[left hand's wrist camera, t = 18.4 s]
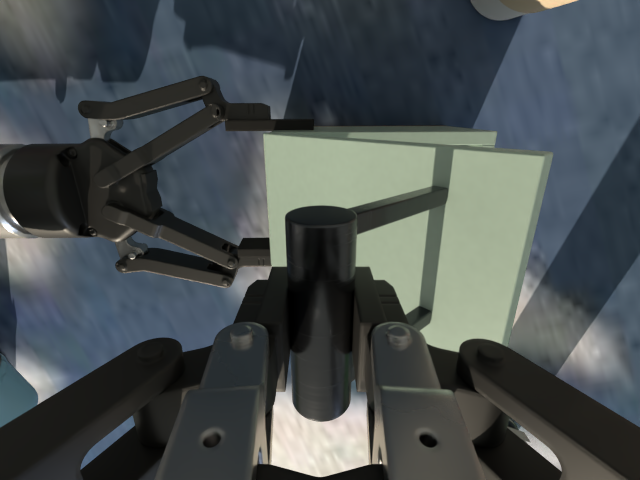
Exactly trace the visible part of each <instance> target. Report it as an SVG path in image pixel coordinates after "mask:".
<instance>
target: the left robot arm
mask: <svg viewBox="0 0 640 480" xmlns="http://www.w3.org/2000/svg"><path fill="white" fill-rule="evenodd" d="M289 357H290V324H289V298H288V283H287V266H272V269H271V272H270V275H269V278H268V280H256V281H255V282H254V283H253V284H251V285H250V286H249V287H248V289H247V292H246V294H245V297H244V299H243V301H242V304H241V306H240V309H239V311H238V313H237V316H236V318H235V321H234V323H233V324H232V325H229V326H227V327H225V328H224V329H222V330H221V331H220V332H219V333H218V334H217V335H216V337H215V340H214V343H213V345H211V346H208V347H205V348H201V349H196V350H192V351H187V352H183V351H182V346H181V344H180V343H179V342H178V341H177V340H175V339H172V338H155V339H151V340H147V341H144V342H142V343H139V344H137V345H135V346H134V347H132V348H130V349H129V350H127V351H125V352H124V353H122V354H120V355H119V356H117V357H116V358H114V359H112V360H111V361H109V362H107V363H106V364H104V365H102V366H101V367H99V368H97V369H96V370H94V371H92V372H91V373H89V374H88V375H86V376H84V377H83V378H81V379H79V380H78V381H76V382H74V383H73V384H71V385H69V386H68V387H66V388H64V389H63V390H61V391H60V392H58V393H56V394H55V395H53V396H51V397H50V398H48V399H46V400H45V401H43V402H41V403H40V404H38V405H37V406H35V407H33V408H32V409H30V410H28V411H27V412H25V413H23V414H22V415H20V416H18V417H17V418H15V419H13V420H12V421H10V422H9V423H7V424H5V425H4V426H2V427H0V480H640V427H638V426H636V425H635V424H633V423H631V422H630V421H628V420H627V419H625V418H623V417H622V416H620V415H618V414H617V413H615V412H613V411H612V410H610V409H608V408H607V407H605V406H604V405H602V404H600V403H599V402H597V401H595V400H594V399H592V398H590V397H589V396H587V395H585V394H584V393H582V392H580V391H579V390H577V389H576V388H574V387H572V386H571V385H569V384H567V383H566V382H564V381H562V380H561V379H559V378H557V377H556V376H554V375H552V374H551V373H549V372H548V371H546V370H544V369H543V368H541V367H539V366H538V365H536V364H534V363H533V362H531V361H529V360H528V359H526V358H524V357H523V356H521V355H520V354H518V353H516V352H515V351H513V350H511V349H510V348H508V347H506V346H504V345H502V344H500V343H498V342H495V341H492V340H487V339H479V338H477V339H469V340H466V341H464V342H463V343H462V344H461V345H460V348H459V352H455V351H450V350H446V349H441V348H437V347H434V346H431V345H429V344H427V343H426V340H425V337H424V335H423V334H422V333H421V332H420V331H419V330H418V329H416V328H415V327H413V326H411V325H409V323H408V320H407V318H406V315H405V313H404V311H403V308H402V306H401V304H400V301H399V299H398V297H397V294H396V292H395V289H394V287H393V286H392V285H390V284H389V283H388V282H387V281H385V280H374V279H373V275H372V272H371V269H370V267H356V271H355V289H354V305H353V330H352V357H353V365H354V373H355V380H356V388H357V392H366V393H367V399H368V400H367V434H368V455H369V465H366V466H363V467H359V468H355V469H352V470H348V471H344V472H341V473H337V474H333V475H330V476H326V477H314V476H310V475H307V474H303V473H299V472H296V471H292V470H288V469H285V468H281V467H277V466H274V465H271V456H272V434H273V405H274V402H275V396H276V392H285V390H286V382H287V373H288V365H289ZM132 415H133V418H134V422H135V426H134V427H133V428H132V429H130V430H129V431H128V432H127V433H125V434H124V435H123V436H122V437H120V438H119V439H118V440H117V441H116V442H114V443H113V444H112V445H111V446H109V447H108V448H107V449H106V450H105V451H103V452H102V453H101V454H100V455H98V456H97V457H96V458H95V459H94V460H92V461H91V462H90V463H89V464H87V465H86V466H85V467H84V468H83V469H81V470H80V467H81V463H82V460H83V459H84V457H85V455H86V454H87V452H88V451H89V450H90V449H91V448H92V447H93V446H94V445H95V444H96V443H97V442H99V441H100V440H101V439H103V438H104V437H105V436H106V435H108V434H109V433H110V432H111V431H113V430H114V429H115V428H117V427H118V426H119V425H120V424H122V423H123V422H124V421H126V420H127V419H128V418H129V417H131V416H132ZM510 417H511V418H512V419H513V420H514V421H516V422H517V423H518V424H520V425H521V426H522V427H523V428H525V429H526V430H527V431H529V432H530V433H531V434H532V435H534V436H535V437H536V438H537V439H539V440H540V441H541V442H543V443H544V444H545V445H546V446H547V447H549V448H550V449H551V450H552V451H553V453H554V454H555V455H556V457H557V458H558V460H559V462H560V464H561V468H562V472H561V471H560V470H559V469H557V468H556V467H555V466H554V465H553V464H551V463H550V462H549V461H548V460H546V459H545V458H544V457H543V456H542V455H540V454H539V453H538V452H537V451H535V450H534V449H533V448H532V447H531V446H529V445H528V444H527V443H526V441H528V442H530V441H529V439H528V438H527V436H526V435H525V433H524V432H522V431H519V430H518V428H517V426H516V424H515V423H514V421H513V420H512V419H511V418H510Z"/></svg>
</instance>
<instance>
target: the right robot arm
mask: <svg viewBox="0 0 640 480" xmlns="http://www.w3.org/2000/svg"><path fill="white" fill-rule="evenodd" d="M202 99H203V102H204V104H205V106H206V107H205V108H204V109H202V110H200V111H199V112H197V113H196V114H194V115H192V116H191V117H189V118H188V119H186V120H184V121H183V122H181V123H179V124H178V125H176V126H175V127H173V128H171V129H170V130H168V131H166V132H165V133H163V134H162V135H160V136H158V137H157V138H155V139H154V140H152V141H150V142H149V143H147V144H145V145H144V146H142V147H140V148H138V149H136V150H134V151H130V150H128V149H127V148H125V147H124V146H122V145H121V144H119V143H117V142H116V141H114V140H113V139H111V138H110V135H111V133H112V132H113V131H115V130H119V129H121V128H122V125H123V120H127V119H136V118H140V117H143V116H147V115H150V114H154V113H157V112H161V111H164V110H167V109H171V108H174V107H178V106H181V105H185V104H188V103H191V102H195V101H198V100H202ZM78 110H79V113H80V114H81V115H82V116H83V117H85V118H88V122H89V129H90V136H91V138H90V139H88V140H86V141H85V142H83V143H81V144H30V145H23V144H0V238H38V237H42V238H83V237H102V238H105V239H107V240H110V241H112V242H115V244H116V247H117V250H118V253H119V256H120V260H119V261H117V262H116V265H115V266H116V269H117V270H118V271H119V272H121V273H129V272H139V271H146V272H151V273H156V274H161V275H166V276H171V277H175V278H180V279H185V280H190V281H195V282H200V283H204V284H209V285H214V286H219V287H224V288H228V287H230V286H231V285H232V283H233V281H234V279H235V276H236V274H237V272H238V269H239V268H240V267H255V266H272V265H271V254H270V238H243V239H242V241H241V243H240V245H239V246H237V245H235V244H233V243H231V242H228V241H226V240H224V239H222V238H220V237H218V236H215V235H213V234H211V233H209V232H207V231H205V230H202V229H200V228H198V227H196V226H194V225H192V224H189V223H187V222H185V221H183V220H181V219H179V218H177V217H175V216H174V214H173V213H171V212H169V211H167V210H165V209H163V208H161V207H162V201H161V197H160V194H159V192H158V190H157V181H158V178H157V172H156V170H153V168H152V165H154V164H155V163H157V162H159V161H160V160H162V159H163V158H165V157H166V156H167V155H169V154H171V153H172V152H174V151H176V150H177V149H179V148H181V147H182V146H184V145H185V144H187V143H189V142H190V141H192V140H194V139H195V138H197V137H199V136H200V135H202V134H204V133H205V132H207V131H209V130H210V129H212V128H214V127H215V126H217V125H219V124H220V123H222V122H223V121H225V127H226V131H274V130H314V119H271V114H270V106H268V105H265V104H262V103H228V102H227V101H226V100H225V99H224V97H223V95H222V93H221V91H220V85H219V83H218V82H217V81H216V80H214V79H211V78H208V77H205V76H199V77H195V78H192V79H189V80H185V81H182V82H178V83H175V84H172V85H168V86H165V87H162V88H158V89H155V90H151V91H148V92H145V93H141V94H138V95H135V96H131V97H128V98H124V99H121V100H118V101H114V102H104V101H81V102H80V103H79V105H78ZM137 231H138V232H140V233H143V234H145V235H147V236H149V237H153V238H161V239H163V240H166V241H168V242H170V243H172V244H175V245H177V246H179V247H181V248H184V249H186V250H188V251H190V252H193V253H195V254H197V255H199V256H202V257H204V258H202V257H197V256H193V255H188V254H183V253H179V252H174V251H170V250H165V249H160V248H148V246H147V245H146V244H145V243H143V244H142V243H137V242H135V241H134V240H133V239H132V237H131V236H132V235H133V234H135V233H136V232H137ZM37 403H38V394H37V392H36V390H35V389H34V388H33V387H32V386H31V385H30V384H29V383H28V382H27V381H26V380H25V378H24V377H23V376H22V375H21V374H20V373H19V372H18V371H17V370H16V369H15V368H14V367H13V366H12V365H11V364H10V363H9V362H8V361H7V360H6V358H5V356H3V355H2V354H1V353H0V427H2V426H4V425H5V424H7V423H9V422H10V421H12V420H13V419H15V418H17V417H18V416H20V415H22V414H23V413H25V412H27V411H28V410H30V409H32V408H33V407H35V406H37Z"/></svg>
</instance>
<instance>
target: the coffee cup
mask: <svg viewBox="0 0 640 480" xmlns="http://www.w3.org/2000/svg"><path fill="white" fill-rule="evenodd" d="M470 1H471V3H472V5H473V6H474V8H475V9H476V10H477V11H478V12H479V13H480V14H481V15H483V16H485V17H486V18H489V19H492V20H498V21H502V20H509V19H512V18H515V17H518V16H522V15H525V14H528V13H535V12H540V11H544V10H547V9H550V8H554V7H557V6H560V5H564V4H567V3H570V2H574V1H577V0H470Z"/></svg>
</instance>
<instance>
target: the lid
mask: <svg viewBox="0 0 640 480" xmlns="http://www.w3.org/2000/svg"><path fill="white" fill-rule="evenodd" d="M263 137H264V154H265V171H266V187H267V204H268V221H269V238H270V254H271V265H272V266H287V283H288V298H289V324H290V355H291V379H292V400H293V404H294V407H295V408H296V410H297V411H298V412H299V413H300V414H301V415H302V416H304V417H305V418H307V419H310V420H313V421H320V422H323V421H330V420H333V419H336V418H338V417H339V416H341V415H342V414H343V413H344V412H345V411H346V410H347V408H348V407H349V404H350V400H351V382H352V381H353V380H355V373H354V365H353V357H352V330H353V305H354V289H355V271H356V267H370V269H371V272H372V275H373V279H374V280H385V281H387V282H388V283H389V284H390V285H392V286H393V287H394V289H395V292H396V294H397V297H398V299H399V301H400V304H401V306H402V308H403V311H404V313H405V315H406V318H407V320H408V323H409V325H411V326H413V327H415V328H416V329H418V330H419V331H420V332H421V333H422V334H423V335H424V337H425V340H426V343H427V344H429V345H431V346H434V347H437V348H441V349H446V350H450V351H455V352H459V348H460V345H461V344H462V343H463V342H464V341H466V340H469V339H477V338H479V339H487V340H492V341H495V342H498V343H500V344H502V345H504V346H506V347H508V343H509V339H510V335H511V330H512V326H513V322H514V318H515V313H516V309H517V305H518V301H519V297H520V292H521V288H522V284H523V280H524V276H525V271H526V267H527V263H528V259H529V254H530V250H531V246H532V242H533V238H534V233H535V229H536V225H537V221H538V216H539V212H540V208H541V204H542V200H543V195H544V191H545V187H546V183H547V178H548V174H549V170H550V166H551V162H552V157H553V153H552V152H546V151H532V150H518V149H503V148H489V147H475V146H460V145H446V144H432V143H417V142H403V141H389V140H374V139H360V138H346V137H331V136H317V135H303V134H288V133H264V134H263Z"/></svg>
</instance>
